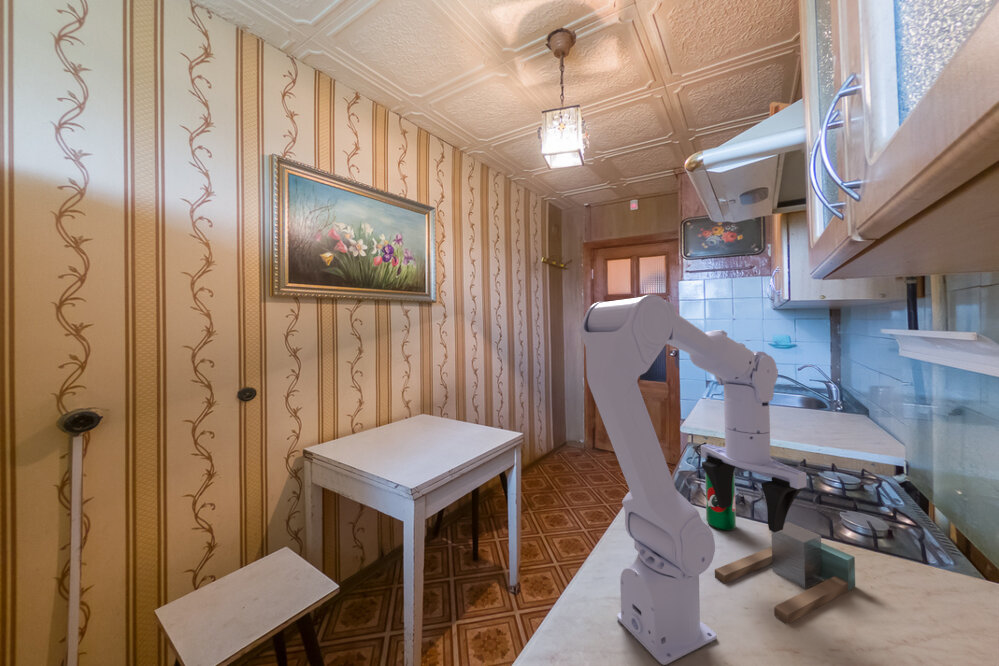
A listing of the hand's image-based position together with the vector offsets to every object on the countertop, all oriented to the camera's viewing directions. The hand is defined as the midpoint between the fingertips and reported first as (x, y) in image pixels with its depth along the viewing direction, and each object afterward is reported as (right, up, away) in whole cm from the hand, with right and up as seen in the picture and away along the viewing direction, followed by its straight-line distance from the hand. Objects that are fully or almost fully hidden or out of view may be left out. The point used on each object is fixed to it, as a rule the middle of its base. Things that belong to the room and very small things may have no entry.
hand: (748, 517), depth 55 cm
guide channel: (+5, -10, 0) cm, 11 cm away
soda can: (+6, -11, +17) cm, 21 cm away
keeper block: (+9, -10, +2) cm, 14 cm away
